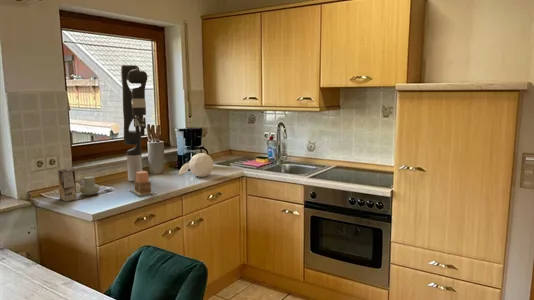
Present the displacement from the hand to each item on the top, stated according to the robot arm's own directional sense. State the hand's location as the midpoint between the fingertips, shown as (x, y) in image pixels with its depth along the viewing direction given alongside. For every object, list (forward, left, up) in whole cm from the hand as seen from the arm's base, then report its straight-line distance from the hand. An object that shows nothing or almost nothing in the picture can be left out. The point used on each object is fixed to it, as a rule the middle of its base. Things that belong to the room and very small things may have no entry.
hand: (140, 135), depth 231 cm
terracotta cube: (0, 0, -27) cm, 27 cm away
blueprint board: (0, 0, -34) cm, 34 cm away
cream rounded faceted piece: (-26, +47, -34) cm, 64 cm away
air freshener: (-14, -26, -34) cm, 45 cm away
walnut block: (0, 0, -33) cm, 33 cm away
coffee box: (-11, -38, -34) cm, 52 cm away
